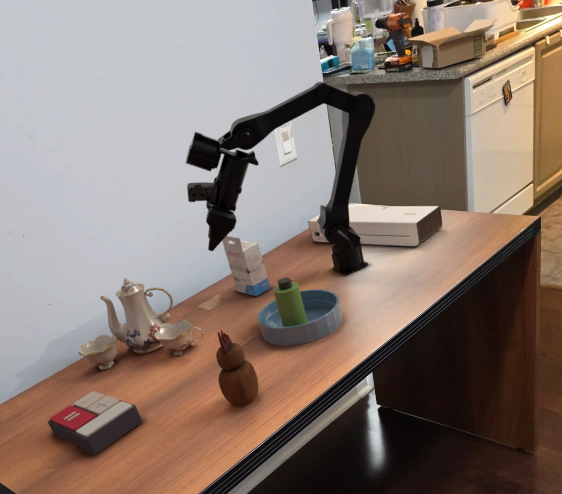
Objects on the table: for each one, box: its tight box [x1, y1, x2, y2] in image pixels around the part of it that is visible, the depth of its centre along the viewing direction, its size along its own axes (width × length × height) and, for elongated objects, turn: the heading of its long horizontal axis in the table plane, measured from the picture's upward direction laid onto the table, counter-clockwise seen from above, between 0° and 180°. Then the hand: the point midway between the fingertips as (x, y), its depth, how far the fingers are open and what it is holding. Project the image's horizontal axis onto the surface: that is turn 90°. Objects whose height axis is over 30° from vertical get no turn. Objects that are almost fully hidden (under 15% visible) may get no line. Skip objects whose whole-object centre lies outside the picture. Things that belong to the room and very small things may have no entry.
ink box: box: [221, 235, 271, 297], centre depth 156 cm, size 8×5×15 cm, turn 39°
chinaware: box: [78, 277, 204, 370], centre depth 140 cm, size 28×17×17 cm, turn 91°
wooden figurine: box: [215, 329, 259, 408], centre depth 112 cm, size 7×6×15 cm
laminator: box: [307, 205, 443, 248], centre depth 169 cm, size 34×12×6 cm, turn 49°
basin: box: [256, 288, 344, 347], centre depth 134 cm, size 17×17×4 cm
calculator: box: [47, 390, 143, 456], centre depth 119 cm, size 11×4×15 cm
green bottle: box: [273, 276, 308, 327], centre depth 129 cm, size 5×5×12 cm
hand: (210, 244), depth 150 cm, fingers open, 9 cm apart
